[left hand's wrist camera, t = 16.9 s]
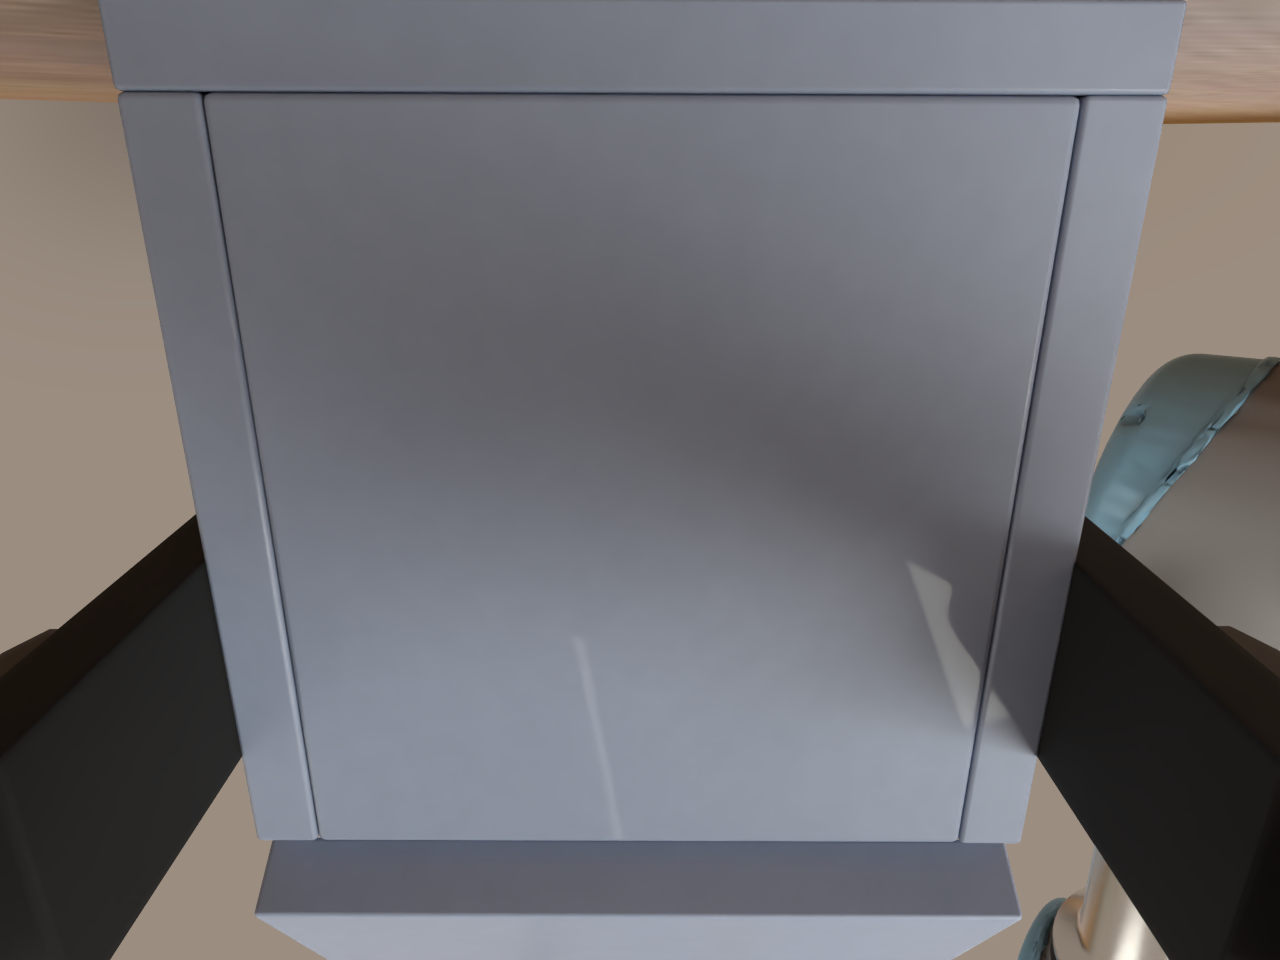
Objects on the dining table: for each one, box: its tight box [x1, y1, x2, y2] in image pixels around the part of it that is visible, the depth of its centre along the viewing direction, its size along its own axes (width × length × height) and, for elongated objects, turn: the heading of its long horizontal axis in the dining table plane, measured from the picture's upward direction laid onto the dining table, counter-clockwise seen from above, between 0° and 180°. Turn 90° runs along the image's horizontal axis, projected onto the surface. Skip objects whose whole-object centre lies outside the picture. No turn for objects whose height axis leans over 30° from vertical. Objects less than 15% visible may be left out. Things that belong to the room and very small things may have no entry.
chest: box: [98, 0, 1186, 843], centre depth 16 cm, size 13×10×10 cm
